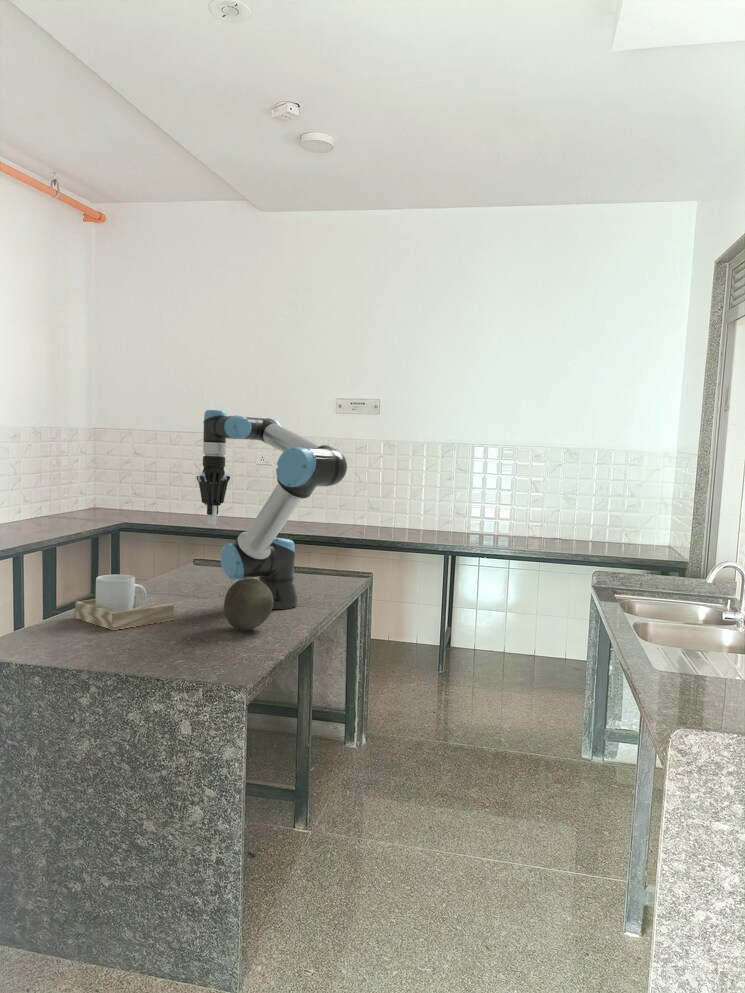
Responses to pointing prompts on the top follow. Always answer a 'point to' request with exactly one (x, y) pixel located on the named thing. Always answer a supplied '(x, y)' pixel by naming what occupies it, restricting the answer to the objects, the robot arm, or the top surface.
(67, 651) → the top surface
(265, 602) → the cantaloupe
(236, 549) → the robot arm
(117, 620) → the corral
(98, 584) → the mug
